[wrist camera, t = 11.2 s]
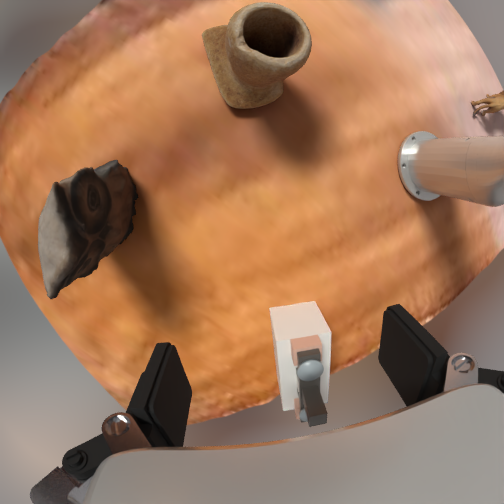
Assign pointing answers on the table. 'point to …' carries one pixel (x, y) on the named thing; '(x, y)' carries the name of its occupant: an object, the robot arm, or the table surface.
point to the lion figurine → (490, 103)
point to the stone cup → (257, 53)
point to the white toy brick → (299, 347)
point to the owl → (84, 223)
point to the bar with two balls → (310, 387)
